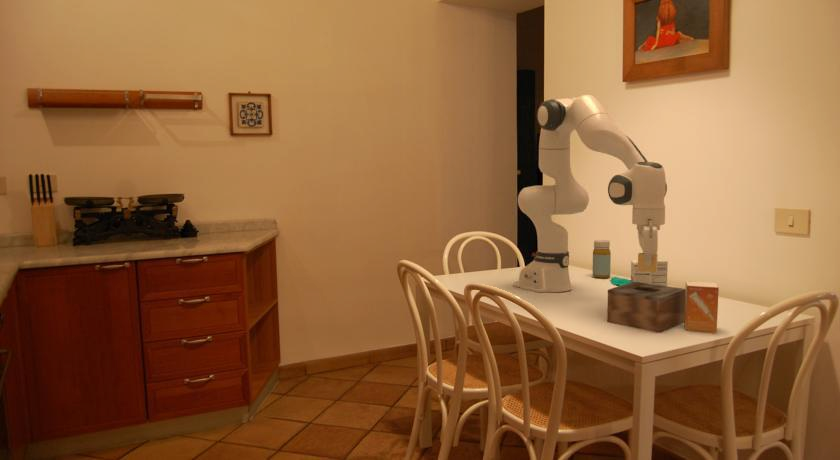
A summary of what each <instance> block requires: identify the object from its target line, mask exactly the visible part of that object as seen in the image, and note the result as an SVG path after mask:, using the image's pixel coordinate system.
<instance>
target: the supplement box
mask: <svg viewBox="0 0 840 460" xmlns="http://www.w3.org/2000/svg"><path fill="white" fill-rule="evenodd" d="M668 263H669V262H668V261H667V260H665V259H663V258H661V257H657V271H656V272H651V284H655V285H662V286H668V266H669V264H668Z"/></svg>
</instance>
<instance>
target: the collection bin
mask: <svg viewBox="0 0 840 460" xmlns="http://www.w3.org/2000/svg"><path fill="white" fill-rule="evenodd" d="M606 309H607V310H606V312H607V314H606V317H607V318H606V320H607V323H610V324H611V323H612V324H615V325H621V326H626V327H630V328H635V329H639V330H645V331H648V332H655V333H659V334H660V333H663V332H665V331H668V330H671V329H672V328H675V327H677V326H680V325H681V324H684V312H685V288H680V287H675V286H668V285H667V286H662V285H655V284H648V283H641V282H632V283H628V284H625V285H622V286H619V285H617V286H615V287H612V288H609V289H607V308H606Z"/></svg>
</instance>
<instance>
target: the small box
mask: <svg viewBox="0 0 840 460" xmlns="http://www.w3.org/2000/svg"><path fill="white" fill-rule="evenodd" d="M684 289H685V312H684V323H683V325H684V330H685V331H691V332H702V333H712V334H717V330H718V315H719V312H718V311H719V294H720V293H719V291H720V290H719V289H720V287H719V286H718V283H717V282H706V281H705V282H704V281H685V288H684Z"/></svg>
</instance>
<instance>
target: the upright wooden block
mask: <svg viewBox="0 0 840 460" xmlns="http://www.w3.org/2000/svg"><path fill="white" fill-rule="evenodd" d="M657 258H658V253H657V254H653V256H652V266H651V267H646V266H645V254H644V253H643V252H639V253H638V254H637V260H638V271H648V272H656V271H657Z"/></svg>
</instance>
